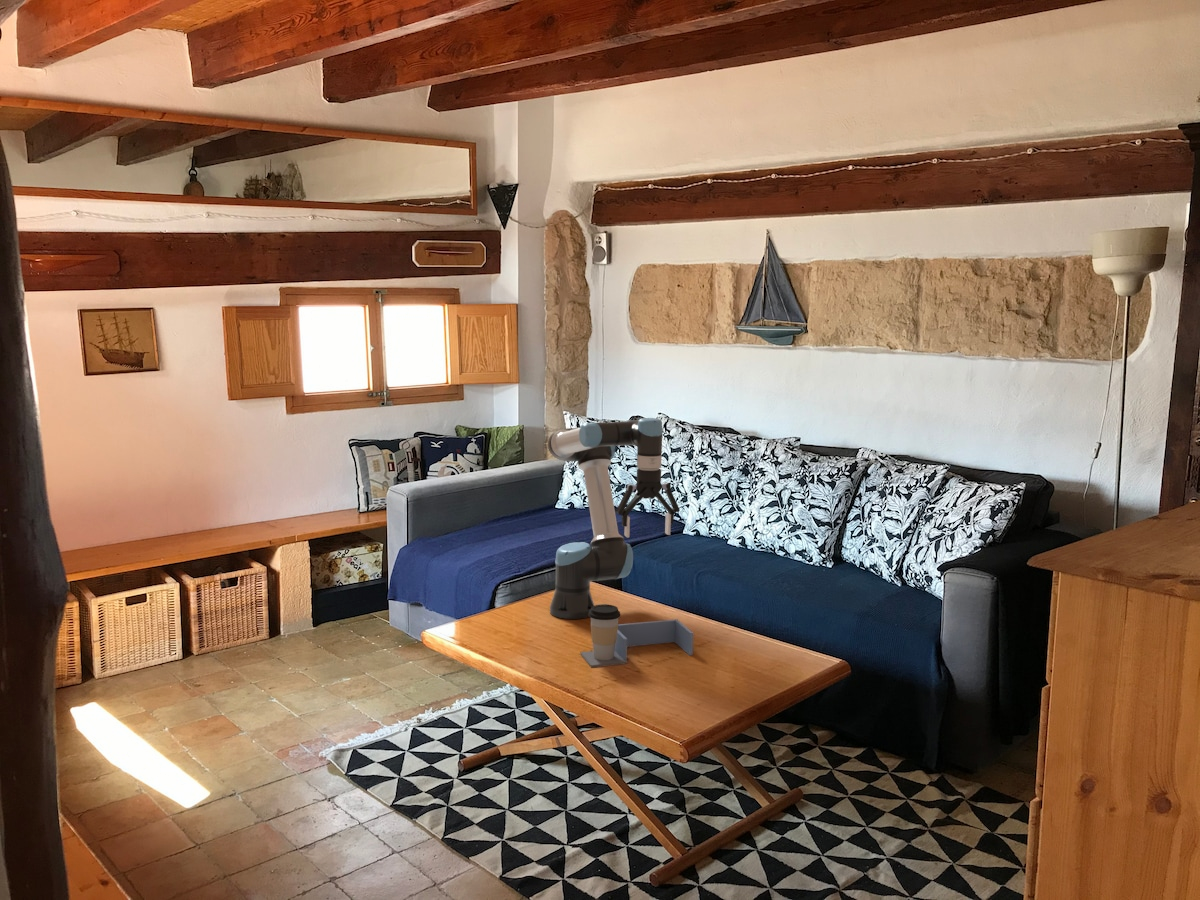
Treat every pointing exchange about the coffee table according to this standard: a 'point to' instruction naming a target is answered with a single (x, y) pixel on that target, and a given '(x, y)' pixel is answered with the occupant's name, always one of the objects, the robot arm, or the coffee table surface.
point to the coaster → (596, 663)
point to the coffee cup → (604, 630)
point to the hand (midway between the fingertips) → (647, 535)
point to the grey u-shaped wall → (653, 635)
